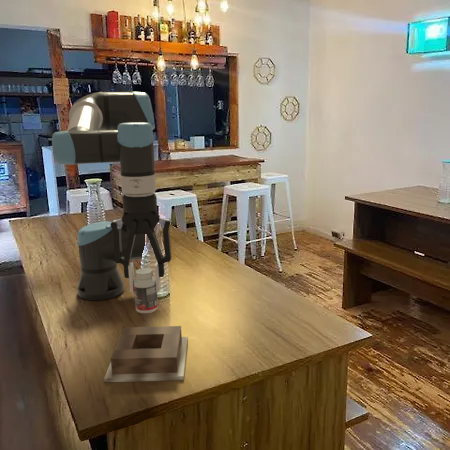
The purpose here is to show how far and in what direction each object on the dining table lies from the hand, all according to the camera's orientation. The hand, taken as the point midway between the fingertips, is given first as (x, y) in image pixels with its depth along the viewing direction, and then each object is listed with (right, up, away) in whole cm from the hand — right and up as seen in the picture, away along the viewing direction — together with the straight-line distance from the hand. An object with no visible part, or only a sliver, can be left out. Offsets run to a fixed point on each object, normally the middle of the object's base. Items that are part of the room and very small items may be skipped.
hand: (145, 289), depth 107 cm
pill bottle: (0, -5, +1) cm, 5 cm away
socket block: (0, -18, +5) cm, 19 cm away
